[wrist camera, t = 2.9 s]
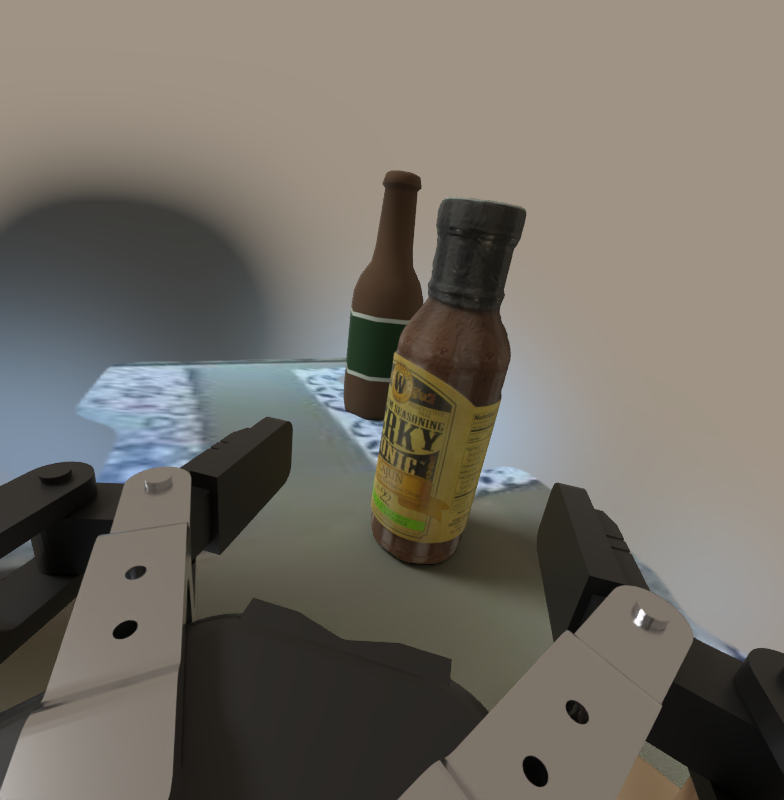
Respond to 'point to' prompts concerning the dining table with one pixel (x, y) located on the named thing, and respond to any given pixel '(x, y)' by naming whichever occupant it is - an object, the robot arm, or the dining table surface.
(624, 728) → the robot arm
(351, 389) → the beer bottle
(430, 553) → the sauce bottle
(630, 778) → the socket board
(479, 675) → the dining table surface
